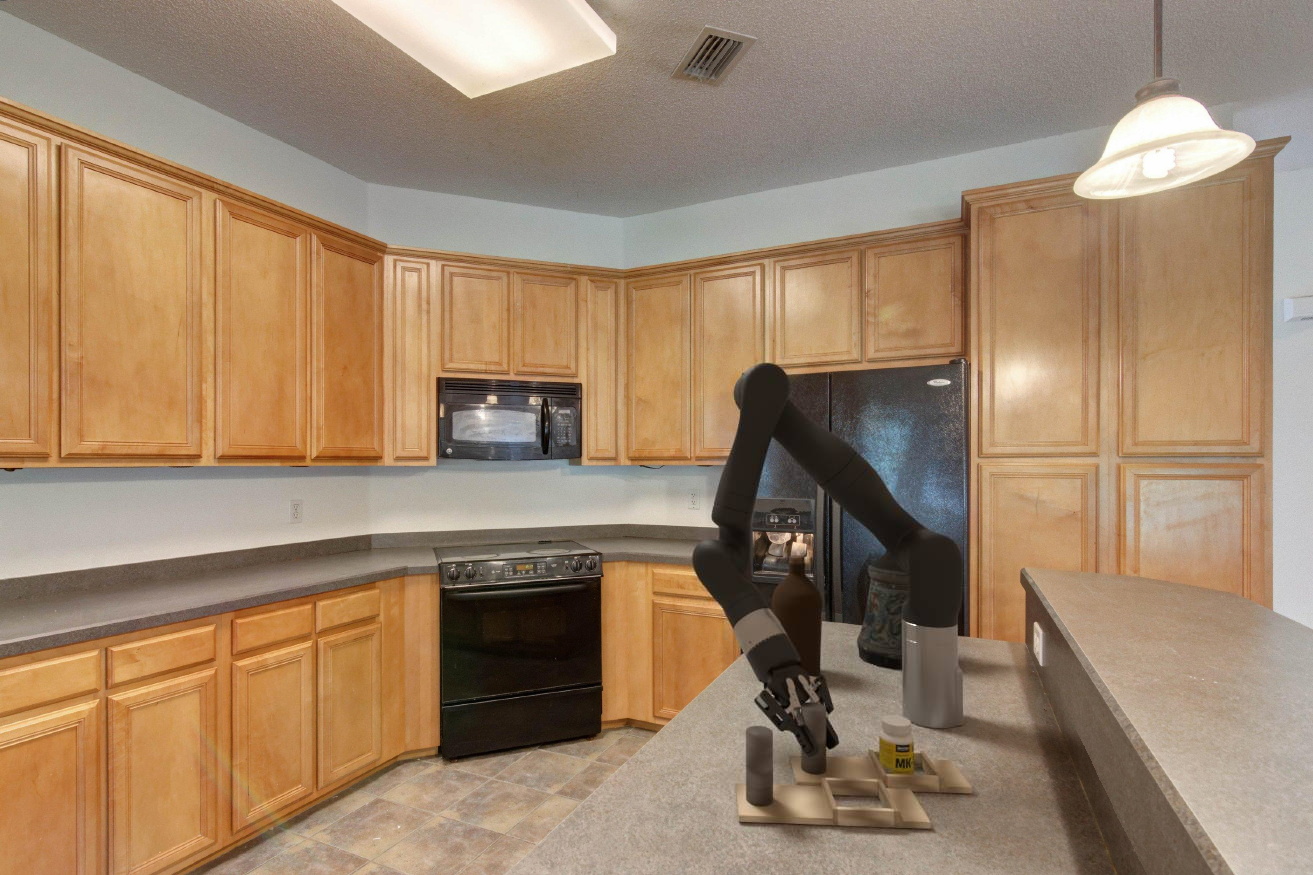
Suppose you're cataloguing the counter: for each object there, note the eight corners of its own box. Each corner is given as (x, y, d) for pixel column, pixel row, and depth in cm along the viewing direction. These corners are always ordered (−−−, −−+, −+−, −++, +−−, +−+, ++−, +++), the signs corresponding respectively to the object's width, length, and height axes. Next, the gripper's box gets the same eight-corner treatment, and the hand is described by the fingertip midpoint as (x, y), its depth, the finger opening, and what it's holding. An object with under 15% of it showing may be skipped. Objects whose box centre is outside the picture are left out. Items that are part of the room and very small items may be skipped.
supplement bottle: (897, 789, 91) (896, 729, 92) (872, 774, 96) (871, 717, 96) (921, 781, 93) (920, 723, 94) (896, 767, 98) (895, 711, 98)
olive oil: (784, 684, 133) (784, 561, 133) (764, 667, 143) (764, 553, 144) (832, 680, 135) (831, 559, 136) (809, 663, 145) (808, 551, 146)
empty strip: (910, 794, 90) (909, 723, 90) (930, 828, 82) (930, 749, 82) (735, 788, 91) (735, 718, 91) (738, 821, 83) (738, 744, 83)
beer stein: (842, 651, 154) (842, 546, 155) (911, 644, 160) (910, 542, 161) (887, 674, 138) (886, 556, 139) (961, 665, 144) (960, 552, 145)
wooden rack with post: (950, 765, 98) (949, 699, 98) (972, 793, 90) (971, 721, 90) (789, 760, 100) (789, 695, 100) (797, 787, 92) (796, 717, 92)
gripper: (743, 639, 98) (803, 751, 88) (809, 625, 106) (871, 726, 96) (721, 664, 102) (776, 774, 92) (785, 649, 110) (842, 749, 100)
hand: (824, 749), depth 94 cm, fingers closed on wooden rack with post, 3 cm apart
